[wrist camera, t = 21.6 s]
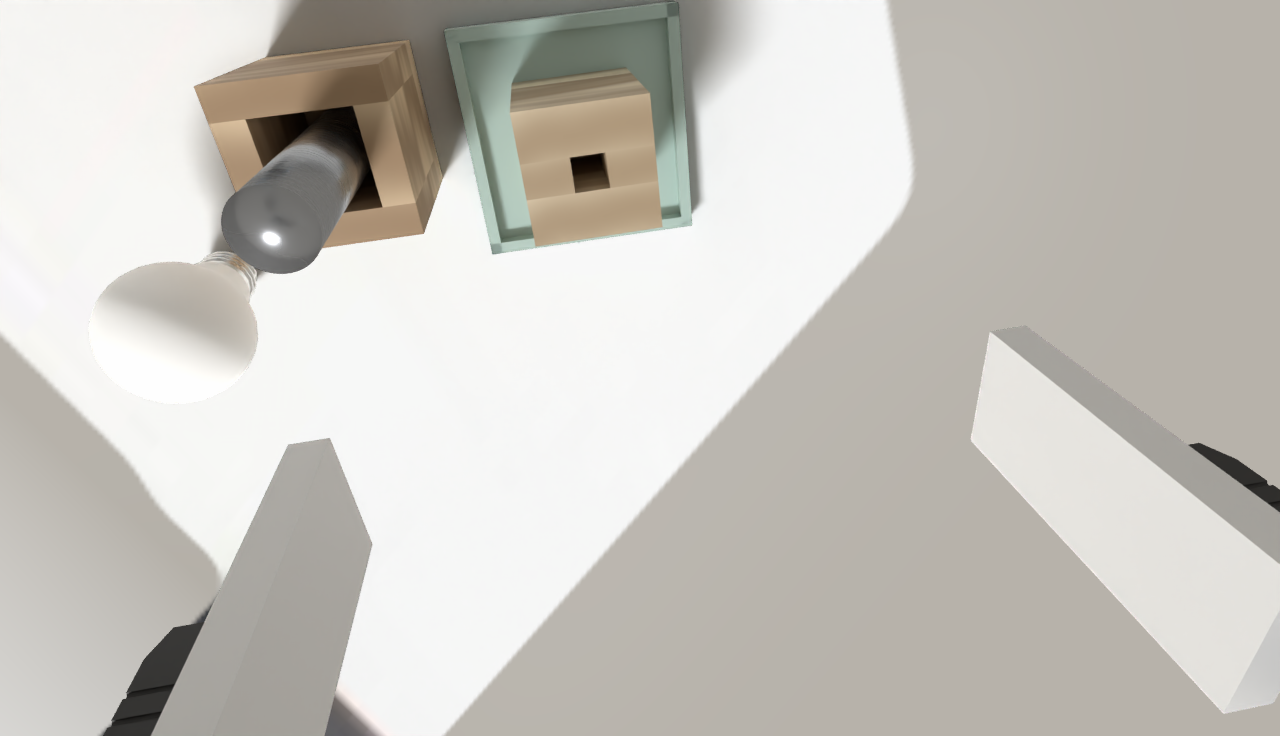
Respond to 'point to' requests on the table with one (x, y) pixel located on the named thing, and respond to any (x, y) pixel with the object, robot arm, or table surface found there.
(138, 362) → the light bulb
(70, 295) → the table surface
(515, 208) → the tray
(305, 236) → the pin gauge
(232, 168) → the wide-bore block
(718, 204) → the table surface
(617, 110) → the narrow-bore block
